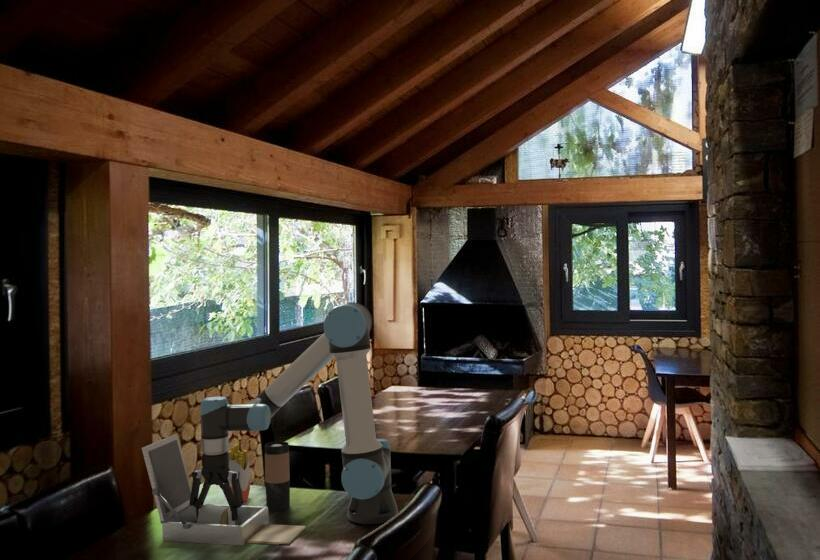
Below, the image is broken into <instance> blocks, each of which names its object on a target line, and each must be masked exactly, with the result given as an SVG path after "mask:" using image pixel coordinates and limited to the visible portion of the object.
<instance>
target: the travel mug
mask: <svg viewBox="0 0 820 560" xmlns="http://www.w3.org/2000/svg"><path fill="white" fill-rule="evenodd" d="M290 472H291V471H290V444H289V443H288V442H287V441H270V442H267V443H265V444H264V479H265V480H264V481H265V482H264V483H265V497H266V498H265V499H266V507H268V511H270V510H272V511H271V512H280V511H285V510H287V509H289V508H290V506H291V505H290V503H291V501H290V500H291V499H290V498H291V497H290V496H291V485H290V484H291V477H290V476H291V474H290Z"/></svg>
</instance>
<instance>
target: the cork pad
mask: <svg viewBox="0 0 820 560" xmlns="http://www.w3.org/2000/svg"><path fill="white" fill-rule="evenodd" d="M306 529H307V525H293V524H292V525H290V524H277V523H276V524H272V523H268V524H267V525H265V526H264V527H263V528H262V529H261V530H260V531H258V532H257V533H256V534H255V535H254V536H252V537H251V538H250V539H249V540H248V541H247V543H249V544H261V545H262V544H263V545H265V544H266V545H267V544H268V545H279V544H290V543H291V542H292V541H293V542H294V541H295V540H296V539H297V538H298V537H299V536H300V535H301V534H302V533H303V532H304V531H305V530H306ZM293 542H292V543H293ZM292 543H291V544H292ZM291 544H290V545H291Z"/></svg>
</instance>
